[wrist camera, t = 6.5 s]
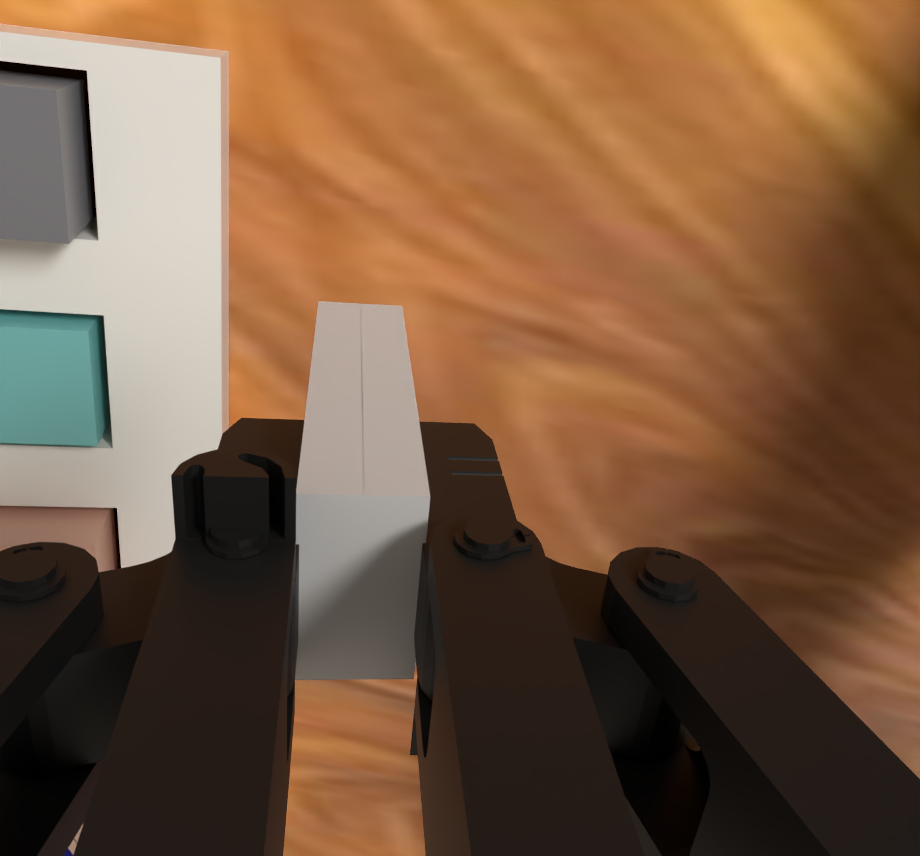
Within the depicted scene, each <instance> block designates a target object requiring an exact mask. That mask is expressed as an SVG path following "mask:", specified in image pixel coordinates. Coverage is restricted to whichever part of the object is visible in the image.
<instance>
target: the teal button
mask: <svg viewBox="0 0 920 856" xmlns="http://www.w3.org/2000/svg"><path fill="white" fill-rule="evenodd" d="M110 418H111V414H110V400H109V385H108V371H107V356H106V342H105V327H104V315H88V314H71V313H55V312H39V311H22V310H6V309H0V443H20V444H50V445H80V446H97V445H98V443H99V441H100V439H101V437H102V435H103V433H104V430H105V428H106V426H107V424H108V422H109V420H110Z"/></svg>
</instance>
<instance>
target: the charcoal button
mask: <svg viewBox="0 0 920 856" xmlns="http://www.w3.org/2000/svg"><path fill="white" fill-rule="evenodd" d="M92 219H93V211H92V197H91V183H90V168H89V154H88V140H87V126H86V112H85V98H84V84H83V79H75V78H66V77H57V76H48V75H39V74H30V73H21V72H12V71H3V70H0V239H10V240H23V241H36V242H49V243H62V244H70V243H71V241H72V240H73V239H74V238H75V237H76V236H77V235H78V234H79V233H80V232H81V231H82V230H83V229H84V228H85V227H86V226H87V225H88V223H89V222H90V221H91V220H92Z"/></svg>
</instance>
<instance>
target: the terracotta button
mask: <svg viewBox="0 0 920 856" xmlns="http://www.w3.org/2000/svg"><path fill="white" fill-rule="evenodd" d="M35 542H59V543H67V544H70V545H74V546H77V547H80V548H83V549H85V550H86V551H87V552H89V553H90V554H91V555H92V556H93V557H94V558H95V559H96V560H97V565H98V570H99V572H103V571H108V570H114V569H118V563H117V549H116V535H115V521H114V508H96V507H46V506H0V551H2V550H4V549H7V548H10V547H12V546H17V545H22V544H29V543H35Z"/></svg>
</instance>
